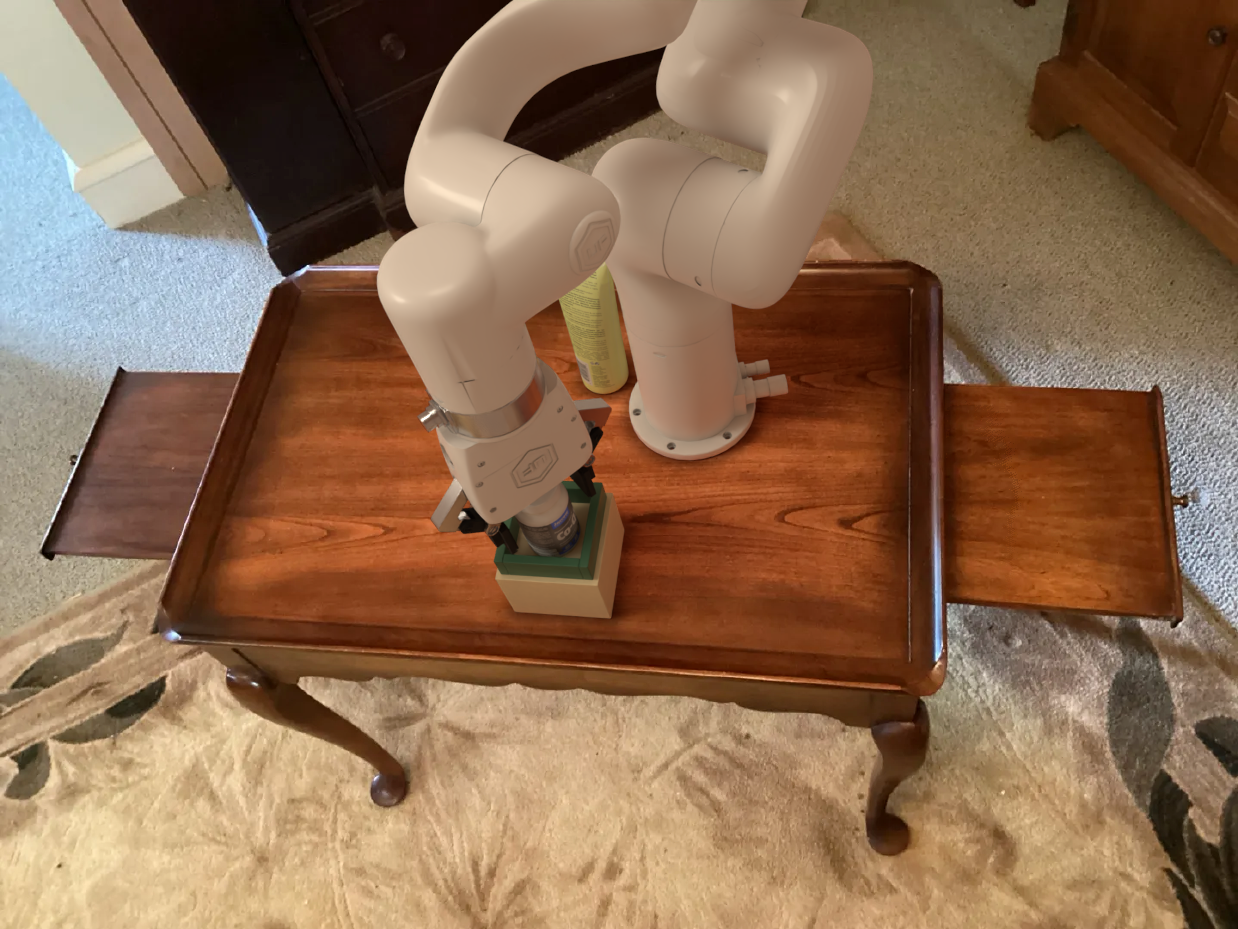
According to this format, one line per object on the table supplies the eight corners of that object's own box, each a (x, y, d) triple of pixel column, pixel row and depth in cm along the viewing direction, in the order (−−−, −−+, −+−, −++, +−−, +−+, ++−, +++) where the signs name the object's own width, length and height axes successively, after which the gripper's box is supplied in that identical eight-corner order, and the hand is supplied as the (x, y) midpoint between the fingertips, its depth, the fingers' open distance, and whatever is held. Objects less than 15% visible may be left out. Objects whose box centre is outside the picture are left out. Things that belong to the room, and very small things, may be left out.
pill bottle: (575, 562, 81) (554, 514, 74) (522, 556, 83) (497, 508, 76) (587, 513, 84) (568, 462, 77) (535, 508, 85) (512, 457, 78)
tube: (629, 350, 102) (598, 213, 86) (640, 387, 99) (610, 252, 83) (577, 364, 102) (536, 229, 86) (587, 401, 99) (546, 269, 83)
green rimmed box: (624, 530, 90) (608, 477, 82) (611, 619, 86) (592, 572, 78) (532, 525, 92) (508, 473, 84) (514, 612, 88) (486, 566, 80)
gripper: (407, 495, 61) (483, 608, 76) (622, 346, 65) (654, 481, 80) (354, 424, 65) (435, 544, 80) (560, 287, 69) (601, 426, 84)
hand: (544, 512), depth 80 cm, fingers open, 7 cm apart
